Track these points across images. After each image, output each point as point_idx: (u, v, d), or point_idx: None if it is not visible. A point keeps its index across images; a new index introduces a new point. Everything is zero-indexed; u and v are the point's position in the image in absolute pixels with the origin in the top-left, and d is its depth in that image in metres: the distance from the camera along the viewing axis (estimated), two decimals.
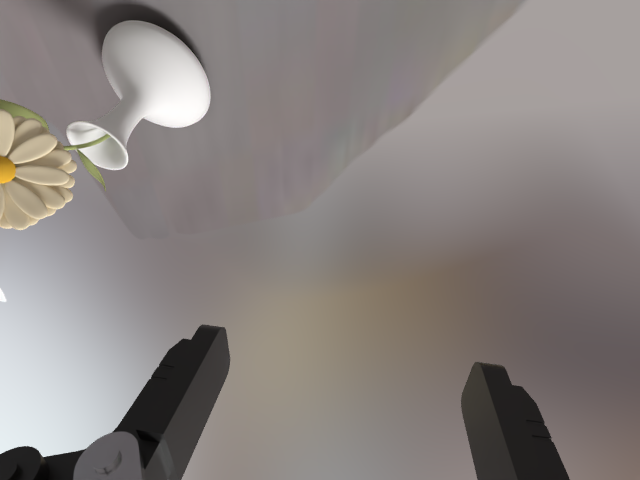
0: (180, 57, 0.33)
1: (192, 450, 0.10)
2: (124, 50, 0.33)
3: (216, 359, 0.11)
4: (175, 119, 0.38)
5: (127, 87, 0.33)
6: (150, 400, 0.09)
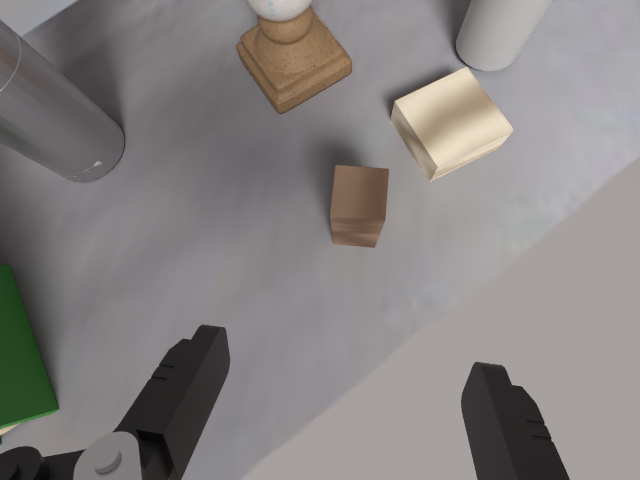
0: None
1: (192, 450, 0.10)
2: None
3: (216, 359, 0.11)
4: None
5: None
6: (150, 400, 0.09)
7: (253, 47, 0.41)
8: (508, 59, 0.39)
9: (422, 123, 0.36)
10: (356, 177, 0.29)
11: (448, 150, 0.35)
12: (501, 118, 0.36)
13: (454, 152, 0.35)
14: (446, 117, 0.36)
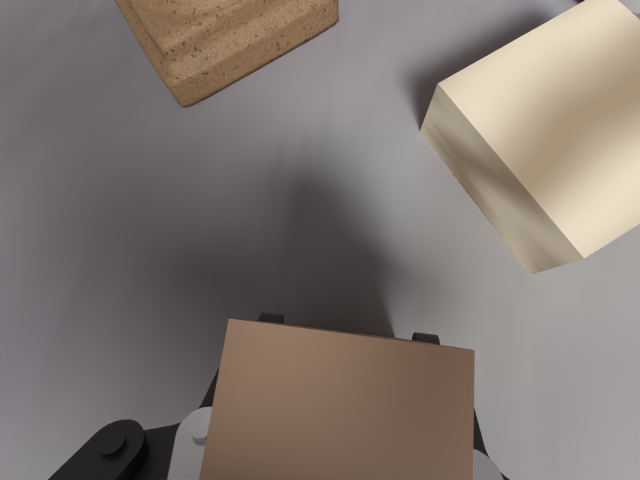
0: None
1: None
2: None
3: None
4: None
5: None
6: None
7: None
8: None
9: (519, 137, 0.14)
10: (319, 389, 0.06)
11: (604, 207, 0.13)
12: None
13: (622, 212, 0.13)
14: (581, 117, 0.14)
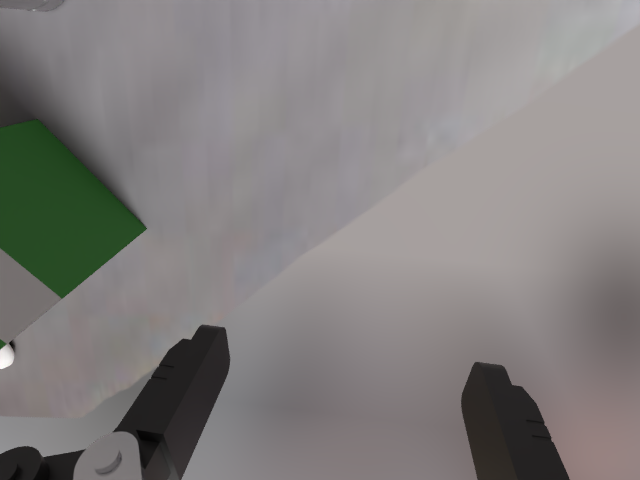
0: None
1: (192, 450, 0.10)
2: None
3: (217, 358, 0.11)
4: None
5: None
6: (150, 400, 0.09)
7: None
8: None
9: None
10: None
11: None
12: None
13: None
14: None
